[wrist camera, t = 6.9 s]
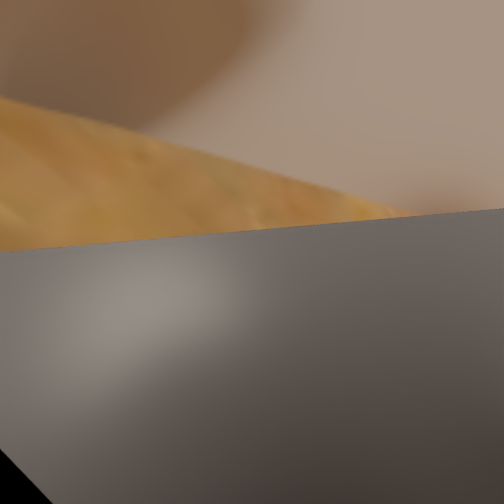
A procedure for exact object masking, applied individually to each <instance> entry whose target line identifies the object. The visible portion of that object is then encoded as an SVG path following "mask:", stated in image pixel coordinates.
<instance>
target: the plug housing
mask: <svg viewBox="0 0 504 504" xmlns="http://www.w3.org/2000/svg"><path fill="white" fill-rule="evenodd" d="M0 504H504V208H503V209H493V210H492V209H491V210H480V211H469V212H457V213H446V214H434V215H423V216H411V217H400V218H388V219H377V220H366V221H354V222H343V223H331V224H320V225H308V226H297V227H285V228H274V229H263V230H251V231H240V232H228V233H217V234H205V235H194V236H183V237H171V238H160V239H148V240H137V241H125V242H114V243H102V244H91V245H80V246H68V247H57V248H45V249H34V250H22V251H11V252H0Z"/></svg>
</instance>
